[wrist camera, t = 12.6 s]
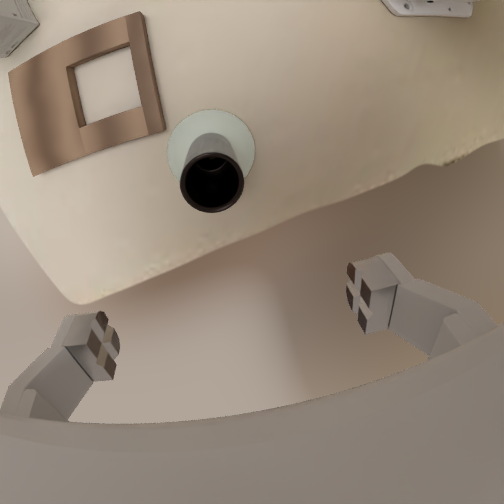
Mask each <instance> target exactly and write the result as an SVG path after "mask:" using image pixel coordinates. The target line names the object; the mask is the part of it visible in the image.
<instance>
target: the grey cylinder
mask: <svg viewBox="0 0 504 504" xmlns="http://www.w3.org/2000/svg"><path fill="white" fill-rule="evenodd" d="M243 188H244V175H243V172H242V169H241V167H240V164H239V162H238V160H237V157H236V155H235V153H234V150H233V148H232V146H231V144H230V142H229V141H228V140H227V139H226V138H225V137H224V136H222V135H220V134H217V133H205V134H202V135H200V136H198V137H197V138H196V139H195V140H194V141H193V142H192V144H191V145H190V147H189V150H188V153H187V156H186V160H185V163H184V166H183V169H182V173H181V176H180V189H181V193H182V195H183V197H184V199H185V200H186V201H187V203H188V204H189V205H191V206H192V207H193V208H195V209H197V210H199V211H202V212H207V213H216V212H221V211H224V210H226V209H228V208H230V207H231V206H232V205H234V204H235V203H236V202H237V200H238V199H239V198H240V196H241V194H242V192H243Z"/></svg>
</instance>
